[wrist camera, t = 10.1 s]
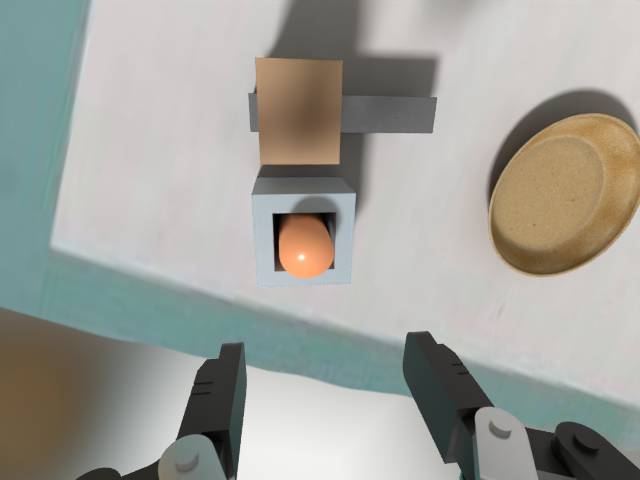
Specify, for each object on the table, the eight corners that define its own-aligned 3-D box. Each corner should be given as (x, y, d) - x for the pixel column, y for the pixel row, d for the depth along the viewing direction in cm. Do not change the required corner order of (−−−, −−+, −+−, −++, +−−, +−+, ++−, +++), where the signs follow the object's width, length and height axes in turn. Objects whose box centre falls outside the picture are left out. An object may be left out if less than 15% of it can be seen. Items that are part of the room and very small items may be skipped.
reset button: (278, 203, 26) (278, 228, 20) (323, 202, 26) (335, 227, 21) (279, 245, 27) (280, 279, 22) (322, 244, 28) (333, 277, 22)
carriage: (261, 73, 23) (255, 57, 16) (324, 74, 24) (343, 60, 17) (265, 149, 25) (260, 164, 18) (322, 149, 25) (339, 164, 19)
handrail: (252, 95, 25) (248, 93, 21) (417, 98, 26) (437, 97, 23) (254, 128, 26) (250, 131, 22) (413, 130, 27) (432, 133, 24)
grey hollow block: (256, 177, 27) (251, 194, 22) (340, 176, 28) (355, 193, 22) (261, 254, 30) (257, 288, 24) (337, 252, 30) (350, 283, 25)
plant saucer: (634, 99, 29) (666, 98, 26) (605, 250, 34) (630, 260, 32) (473, 129, 28) (491, 130, 26) (471, 278, 34) (486, 291, 31)
